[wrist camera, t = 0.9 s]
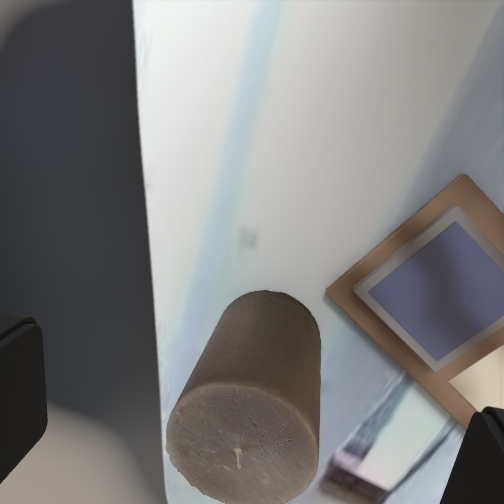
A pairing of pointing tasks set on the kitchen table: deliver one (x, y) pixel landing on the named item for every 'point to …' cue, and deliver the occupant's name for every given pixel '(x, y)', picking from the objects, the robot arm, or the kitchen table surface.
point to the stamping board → (438, 298)
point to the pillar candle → (252, 404)
